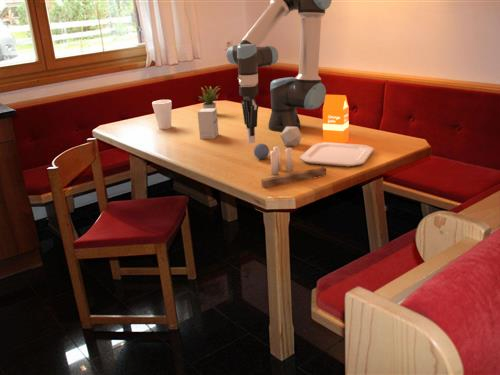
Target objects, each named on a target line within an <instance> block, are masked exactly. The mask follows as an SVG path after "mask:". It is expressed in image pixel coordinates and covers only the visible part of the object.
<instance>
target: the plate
mask: <svg viewBox="0 0 500 375" xmlns="http://www.w3.org/2000/svg"><path fill="white" fill-rule="evenodd" d="M374 150H375V149H374V148H373V147H372V146H370V145H367V144H359V143H358V144H357V143H345V144H344V143H329V142H324V143H323V142H318V143H314V144H313V145H311V146H310V147H309V148H308V149H307V150H306V151H305V152H304V153H303V154H302V155H301V156H299V159H300V160H302V161H304V162H305V163H308V164H311V165H319V164H320V165H322V166H331V165H333V166H334V167H343V166H346V167H345V168H350V167H351V166H352V167H356V165H357V166H360V165H363V164H364V163H366V161H367V160H368V159H369V157H370V156H371V155H372V153H373V152H374ZM333 166H332V167H333Z"/></svg>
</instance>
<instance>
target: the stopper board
mask: <svg viewBox="0 0 500 375" xmlns="http://www.w3.org/2000/svg"><path fill="white" fill-rule="evenodd" d="M323 175H326V176H327V168H326V167H324V166H323V167H317V168H312V169H307V170H303V171H298V172H290V173H286V174H282V175H278V176H277V175H275V176H272V177H267V178H262V179H261V180H260V181H261V187H262V188H263V187H267V188H270V187H269V186H272V187H275V186H274V185H277V186H280V185H279V184H282V185H285V184H284V183H287V184H291V183H290V182H292V183H296V182H295V181H297V182H300V180H301V181H306V180H311V179H315V178H314V177H316V178H320V177H319V176H321V177H324V176H323ZM310 178H311V179H310Z"/></svg>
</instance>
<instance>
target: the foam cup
mask: <svg viewBox="0 0 500 375" xmlns="http://www.w3.org/2000/svg"><path fill="white" fill-rule="evenodd" d="M151 104H152V108H153V112H154V115H155V119H156V122H157V127H158V129H159V130H166V129H167V130H168V129H170V128H171V127H172V110H173V109H172V100H171V99H159V100H154V101H152V103H151Z"/></svg>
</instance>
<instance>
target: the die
mask: <svg viewBox="0 0 500 375" xmlns="http://www.w3.org/2000/svg"><path fill="white" fill-rule="evenodd" d="M302 138H303V136H302V134H301V131H300V128H298V127H285V129H284V130H283V131H281V134H280V139H281V140H282V143H283V145H284V146H285V147H298V145H299V143H300V142H301V140H302Z"/></svg>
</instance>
